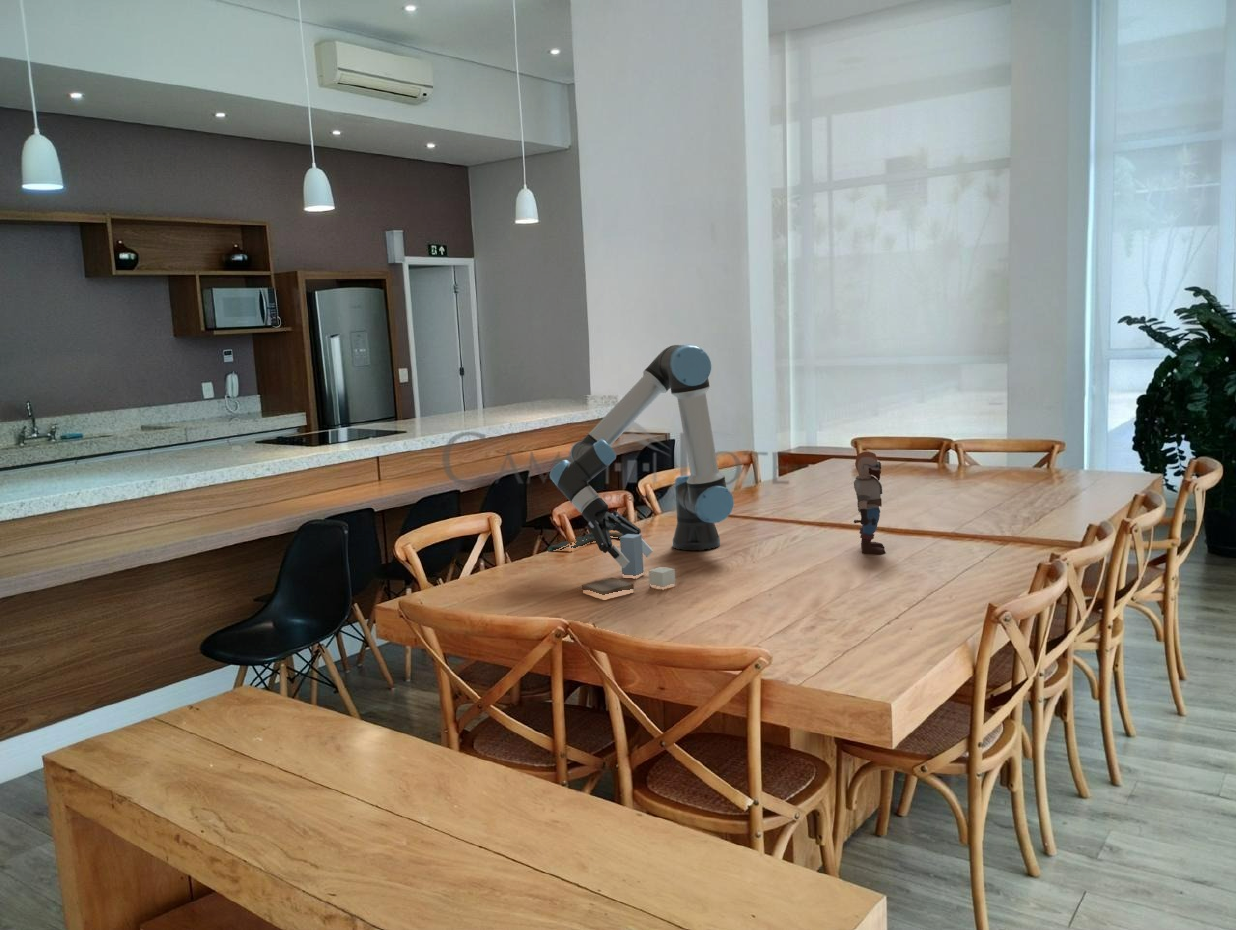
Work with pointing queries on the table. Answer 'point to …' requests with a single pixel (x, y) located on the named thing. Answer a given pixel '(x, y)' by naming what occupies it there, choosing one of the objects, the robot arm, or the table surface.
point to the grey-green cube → (662, 576)
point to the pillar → (632, 553)
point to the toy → (868, 500)
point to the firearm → (580, 541)
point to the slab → (608, 586)
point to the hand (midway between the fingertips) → (638, 559)
